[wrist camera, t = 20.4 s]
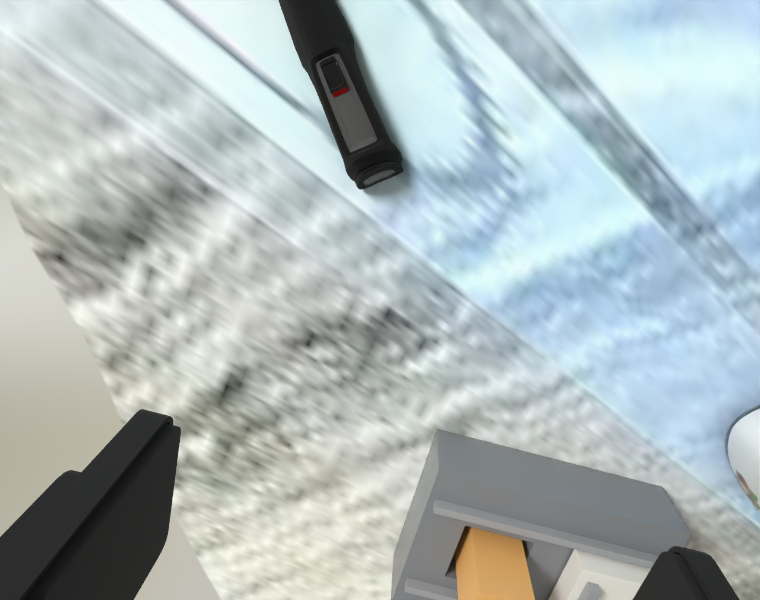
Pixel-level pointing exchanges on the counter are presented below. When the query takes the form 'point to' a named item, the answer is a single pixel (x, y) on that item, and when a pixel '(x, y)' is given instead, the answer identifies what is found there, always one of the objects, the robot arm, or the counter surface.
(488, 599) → the plug
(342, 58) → the electric trimmer
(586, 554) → the shutter
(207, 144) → the counter surface
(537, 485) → the socket
